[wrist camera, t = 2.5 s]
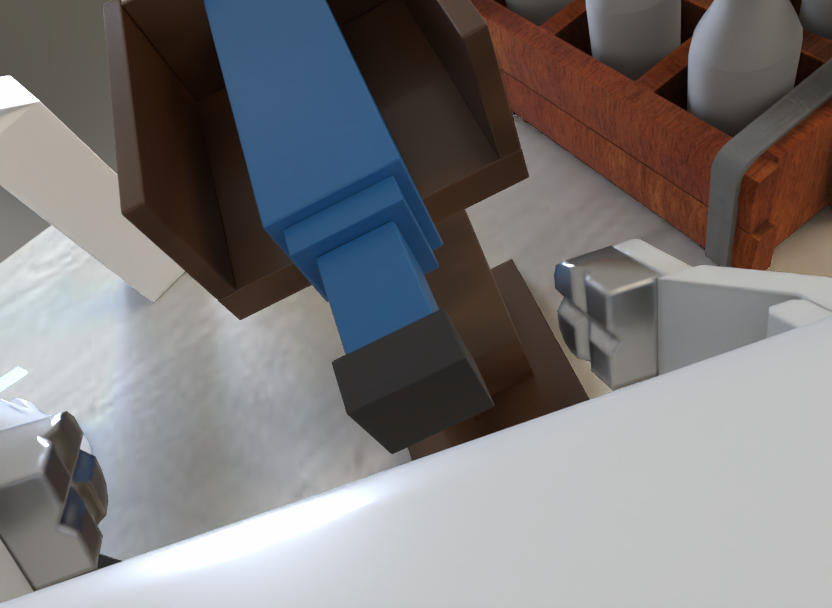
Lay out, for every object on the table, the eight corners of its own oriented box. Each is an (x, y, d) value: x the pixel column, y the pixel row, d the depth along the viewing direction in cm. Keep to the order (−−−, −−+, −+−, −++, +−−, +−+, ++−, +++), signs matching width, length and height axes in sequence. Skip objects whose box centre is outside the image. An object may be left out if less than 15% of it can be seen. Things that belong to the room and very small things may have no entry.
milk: (154, 304, 59) (-76, 130, 41) (123, 272, 62) (-102, 99, 44) (203, 254, 60) (0, 64, 42) (171, 226, 63) (-30, 38, 45)
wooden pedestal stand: (425, 486, 43) (119, 214, 19) (373, 338, 50) (101, 4, 26) (592, 409, 42) (488, 23, 18) (515, 269, 49) (367, -142, 25)
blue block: (379, 471, 18) (311, 416, 15) (258, 83, 29) (202, -1, 25) (520, 405, 18) (484, 333, 14) (344, 38, 28) (300, -54, 25)
